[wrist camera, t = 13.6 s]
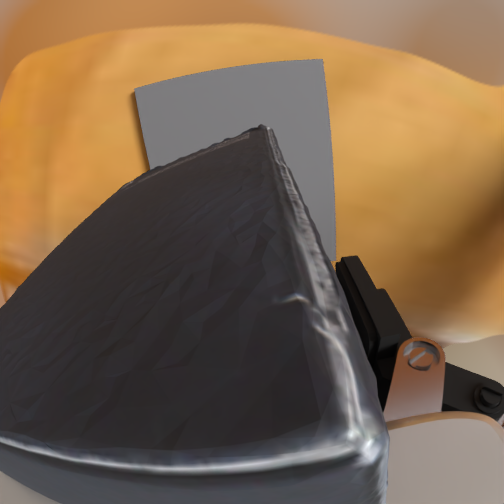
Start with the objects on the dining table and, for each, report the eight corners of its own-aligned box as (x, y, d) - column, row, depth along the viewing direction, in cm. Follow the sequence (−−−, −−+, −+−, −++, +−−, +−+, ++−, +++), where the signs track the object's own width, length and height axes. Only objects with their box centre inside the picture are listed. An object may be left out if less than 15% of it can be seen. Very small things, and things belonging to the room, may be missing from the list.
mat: (320, 60, 21) (322, 59, 20) (333, 256, 29) (336, 260, 28) (137, 88, 22) (134, 88, 21) (181, 274, 30) (179, 279, 29)
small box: (112, 186, 11) (-87, 406, 2) (270, 119, 10) (470, 390, 1) (218, 367, 16) (204, 559, 7) (338, 334, 15) (389, 539, 5)
